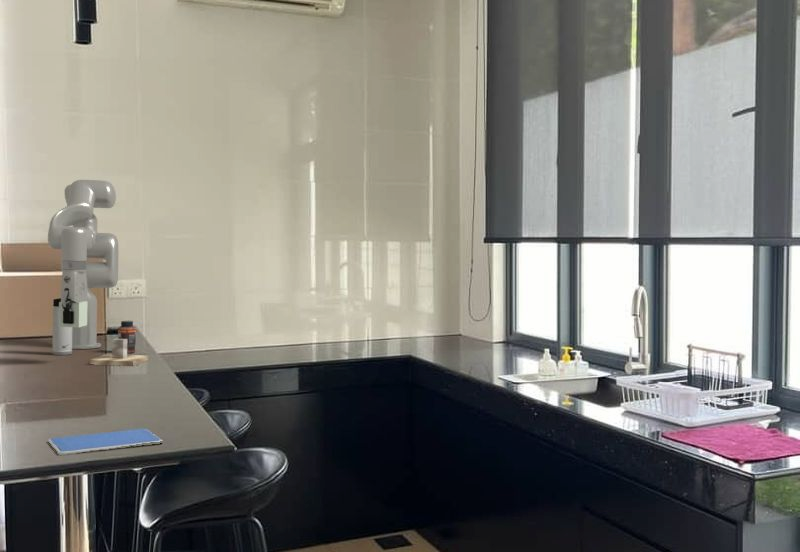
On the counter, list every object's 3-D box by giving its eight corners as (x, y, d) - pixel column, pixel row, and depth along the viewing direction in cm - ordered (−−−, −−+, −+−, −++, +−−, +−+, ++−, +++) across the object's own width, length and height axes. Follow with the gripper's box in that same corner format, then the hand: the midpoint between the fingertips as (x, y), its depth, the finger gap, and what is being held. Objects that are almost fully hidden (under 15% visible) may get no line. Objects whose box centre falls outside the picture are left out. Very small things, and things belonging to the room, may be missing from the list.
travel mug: (68, 355, 273) (69, 297, 272) (49, 355, 273) (49, 296, 272) (76, 353, 279) (76, 296, 278) (57, 352, 279) (58, 295, 278)
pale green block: (58, 326, 253) (59, 302, 252) (67, 324, 259) (67, 300, 259) (78, 327, 252) (79, 302, 252) (87, 325, 259) (87, 301, 258)
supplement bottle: (138, 351, 287) (138, 320, 287) (131, 354, 281) (131, 322, 281) (122, 351, 288) (122, 319, 287) (114, 353, 282) (115, 321, 281)
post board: (89, 364, 254) (90, 341, 254) (106, 358, 268) (106, 336, 268) (133, 366, 254) (133, 342, 254) (147, 359, 268) (148, 337, 268)
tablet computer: (59, 458, 146) (59, 451, 146) (46, 443, 157) (46, 437, 157) (164, 447, 157) (164, 440, 157) (145, 433, 167) (146, 427, 167)
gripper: (73, 268, 246) (73, 326, 247) (96, 265, 263) (95, 319, 264) (49, 267, 246) (49, 325, 247) (73, 264, 263) (73, 319, 264)
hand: (73, 321), depth 256 cm, fingers closed on pale green block, 6 cm apart
